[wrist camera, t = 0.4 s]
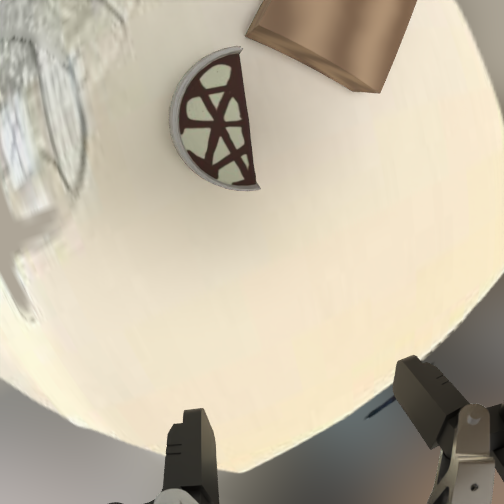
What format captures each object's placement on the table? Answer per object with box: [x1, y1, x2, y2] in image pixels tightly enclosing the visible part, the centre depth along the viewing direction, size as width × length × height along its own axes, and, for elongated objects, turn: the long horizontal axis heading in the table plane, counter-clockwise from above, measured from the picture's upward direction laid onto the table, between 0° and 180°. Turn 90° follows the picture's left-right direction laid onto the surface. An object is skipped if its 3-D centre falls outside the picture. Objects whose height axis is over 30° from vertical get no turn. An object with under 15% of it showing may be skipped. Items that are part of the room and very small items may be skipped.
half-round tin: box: [169, 46, 261, 191], centre depth 25 cm, size 12×6×10 cm, turn 7°
